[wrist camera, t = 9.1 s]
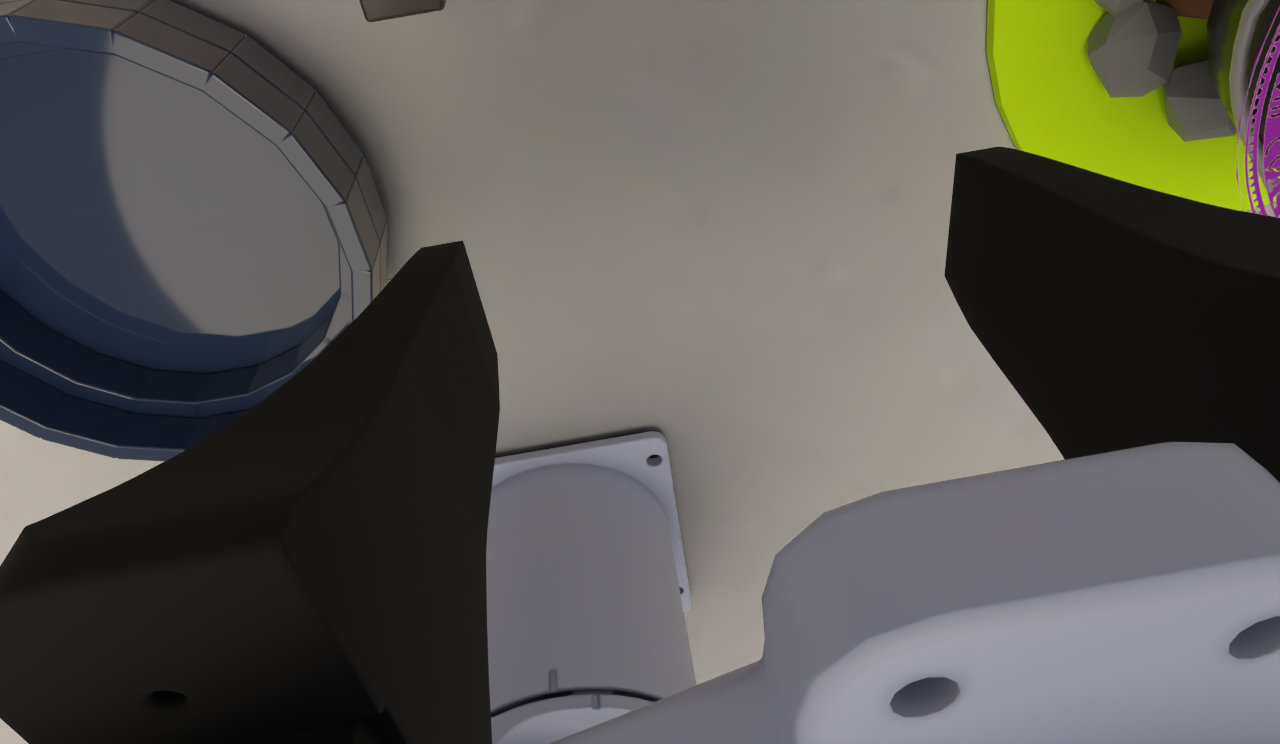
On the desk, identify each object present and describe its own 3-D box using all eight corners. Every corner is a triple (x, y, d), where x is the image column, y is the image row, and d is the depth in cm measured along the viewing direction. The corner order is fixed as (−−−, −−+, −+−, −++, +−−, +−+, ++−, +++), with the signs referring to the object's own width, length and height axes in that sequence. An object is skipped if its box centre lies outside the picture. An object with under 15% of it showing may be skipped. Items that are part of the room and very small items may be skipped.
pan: (440, 353, 25) (430, 422, 23) (66, 417, 25) (15, 494, 23) (295, -62, 18) (258, -29, 16) (-221, 26, 18) (-340, 73, 16)
